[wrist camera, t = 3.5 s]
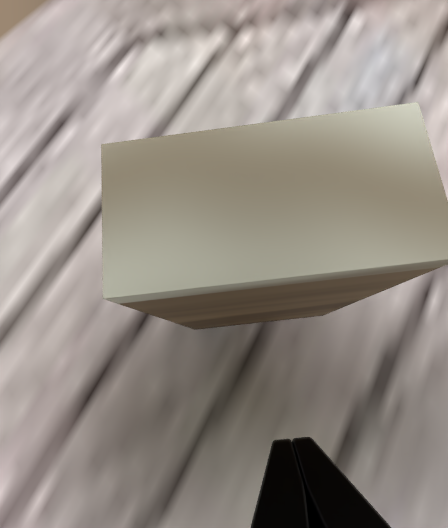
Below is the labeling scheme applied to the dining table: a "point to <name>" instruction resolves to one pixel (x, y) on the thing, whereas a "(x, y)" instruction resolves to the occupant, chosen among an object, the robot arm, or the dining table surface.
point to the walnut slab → (271, 217)
